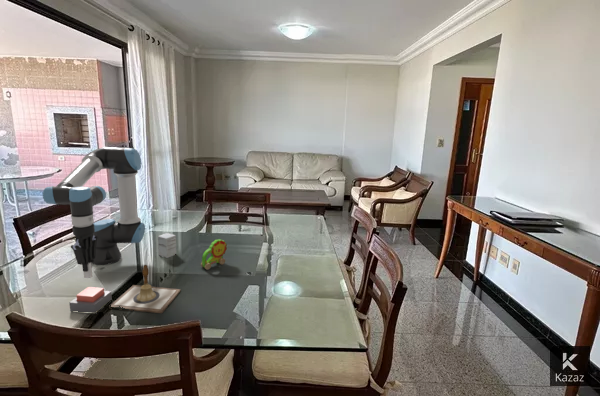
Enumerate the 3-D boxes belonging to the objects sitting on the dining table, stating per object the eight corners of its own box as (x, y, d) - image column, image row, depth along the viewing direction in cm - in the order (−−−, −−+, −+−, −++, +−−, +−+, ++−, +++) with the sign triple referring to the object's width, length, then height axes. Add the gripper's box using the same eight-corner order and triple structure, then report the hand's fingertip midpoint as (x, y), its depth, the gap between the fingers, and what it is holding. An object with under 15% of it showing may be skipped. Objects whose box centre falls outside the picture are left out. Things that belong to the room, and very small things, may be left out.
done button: (77, 301, 138) (76, 295, 137) (88, 292, 145) (88, 286, 144) (93, 303, 137) (92, 296, 137) (104, 294, 144) (103, 288, 144)
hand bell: (150, 290, 155) (149, 259, 151) (159, 296, 150) (158, 265, 146) (133, 296, 149) (130, 265, 145) (141, 304, 144) (139, 271, 140)
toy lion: (205, 271, 180) (205, 245, 176) (200, 267, 183) (199, 242, 179) (228, 262, 192) (228, 238, 188) (222, 259, 195) (223, 236, 192)
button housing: (70, 311, 137) (69, 302, 136) (88, 298, 148) (87, 289, 147) (95, 314, 136) (94, 304, 135) (111, 300, 147) (111, 291, 146)
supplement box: (158, 255, 195) (157, 235, 192) (168, 251, 202) (167, 232, 199) (166, 258, 192) (166, 238, 189) (176, 254, 198) (176, 235, 195)
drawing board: (108, 308, 141) (108, 306, 141) (133, 286, 160) (133, 284, 159) (162, 313, 140) (161, 311, 140) (180, 290, 158) (180, 288, 158)
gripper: (80, 230, 126) (85, 285, 132) (102, 220, 139) (106, 271, 144) (62, 228, 127) (68, 283, 132) (85, 219, 139) (90, 269, 145)
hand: (88, 276), depth 138 cm, fingers closed
